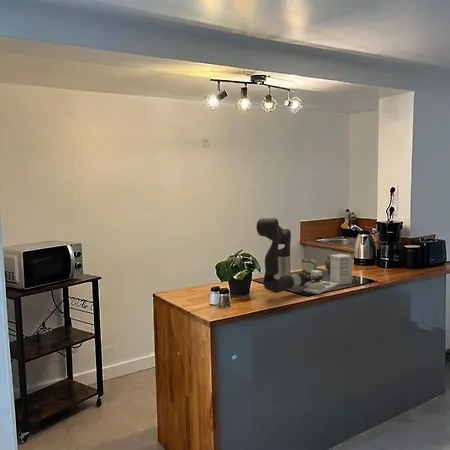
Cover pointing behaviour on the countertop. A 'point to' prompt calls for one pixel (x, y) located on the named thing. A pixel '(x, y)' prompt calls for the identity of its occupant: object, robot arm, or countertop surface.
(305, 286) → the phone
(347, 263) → the supplement box
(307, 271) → the food container
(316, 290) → the pale grey tray
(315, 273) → the charger
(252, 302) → the countertop surface
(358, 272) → the countertop surface
